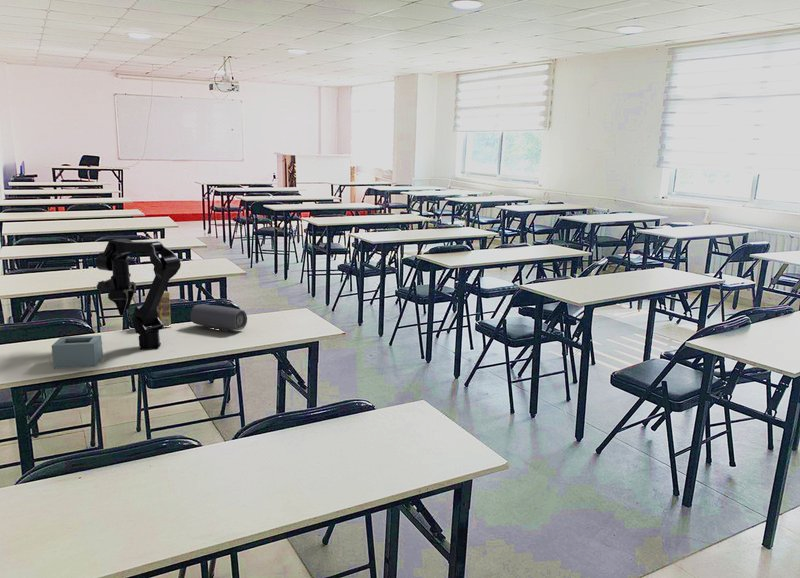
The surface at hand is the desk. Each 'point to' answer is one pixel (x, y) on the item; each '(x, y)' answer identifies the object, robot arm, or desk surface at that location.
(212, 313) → the bluetooth speaker
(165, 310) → the candy box
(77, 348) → the blue-grey open box
